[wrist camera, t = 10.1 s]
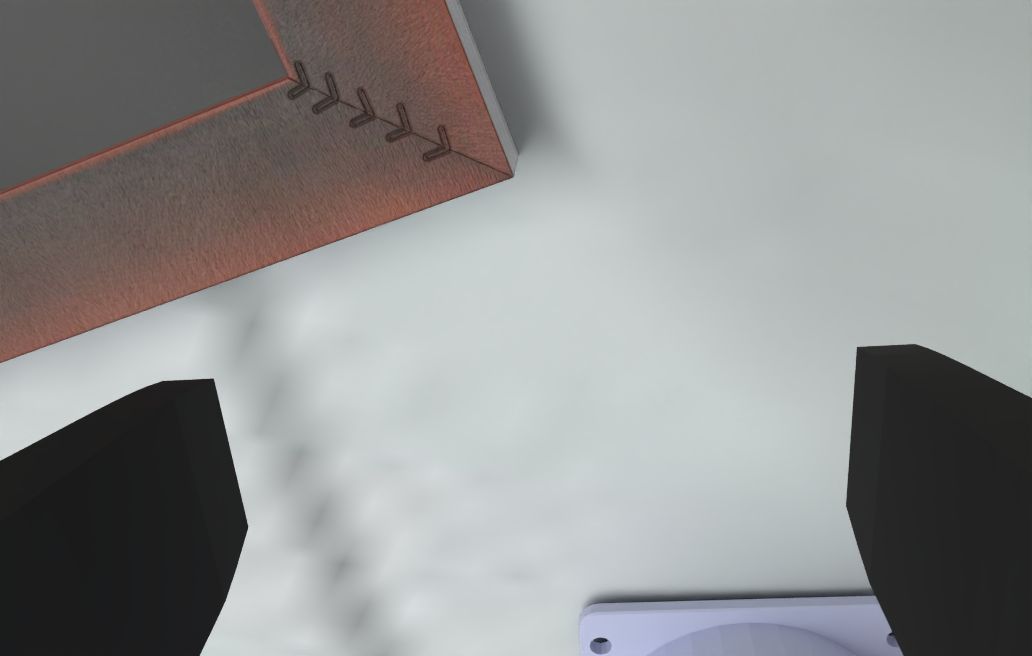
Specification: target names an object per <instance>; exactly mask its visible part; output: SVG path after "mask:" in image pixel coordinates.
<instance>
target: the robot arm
mask: <svg viewBox="0 0 1032 656" xmlns="http://www.w3.org/2000/svg"><path fill="white" fill-rule="evenodd" d="M846 507H847V510H848V514H849V517H850V521H851V524H852V528H853V531H854V535H855V538H856V541H857V545H858V548H859V551H860V555H861V558H862V561H863V564H864V567H865V570H866V573H867V576H868V580H869V583H870V585H871V587H872V589H873V591H874V594H875V596H847V597H811V598H776V599H740V600H705V601H670V602H634V603H599V604H593V605H590V606H588V607H586V608H585V609H584V610H583V611H582V612H581V613H580V617H579V637H580V652H581V656H1032V398H1031V397H1028V396H1026V395H1024V394H1022V393H1020V392H1018V391H1016V390H1014V389H1012V388H1010V387H1008V386H1006V385H1004V384H1002V383H1000V382H998V381H996V380H994V379H992V378H990V377H988V376H986V375H984V374H982V373H980V372H978V371H976V370H974V369H972V368H970V367H968V366H966V365H964V364H962V363H960V362H958V361H956V360H953V359H951V358H949V357H947V356H945V355H943V354H940V353H938V352H936V351H933V350H931V349H928V348H925V347H922V346H919V345H916V344H909V345H889V346H868V347H857V356H856V370H855V385H854V399H853V414H852V428H851V443H850V457H849V472H848V486H847V500H846ZM247 530H248V524H247V519H246V515H245V511H244V506H243V502H242V498H241V494H240V489H239V485H238V481H237V476H236V472H235V468H234V464H233V459H232V455H231V451H230V446H229V442H228V438H227V434H226V429H225V425H224V421H223V416H222V412H221V408H220V403H219V399H218V395H217V391H216V386H215V382H214V379H196V380H175V381H162V382H159V383H156V384H153V385H150V386H147V387H145V388H142V389H140V390H137V391H135V392H133V393H131V394H129V395H126V396H124V397H122V398H120V399H118V400H116V401H114V402H112V403H110V404H108V405H106V406H104V407H102V408H100V409H98V410H96V411H94V412H92V413H90V414H89V415H87V416H85V417H83V418H81V419H79V420H77V421H75V422H73V423H71V424H69V425H68V426H66V427H64V428H62V429H60V430H58V431H56V432H54V433H52V434H51V435H49V436H47V437H45V438H43V439H41V440H39V441H37V442H35V443H33V444H32V445H30V446H28V447H26V448H24V449H22V450H20V451H18V452H16V453H15V454H13V455H11V456H9V457H7V458H5V459H3V460H1V461H0V656H200V654H201V652H202V650H203V647H204V645H205V643H206V641H207V639H208V637H209V635H210V633H211V631H212V629H213V627H214V625H215V622H216V620H217V618H218V616H219V614H220V612H221V609H222V607H223V605H224V603H225V601H226V598H227V595H228V592H229V589H230V586H231V583H232V580H233V577H234V574H235V571H236V568H237V564H238V561H239V557H240V554H241V551H242V547H243V544H244V540H245V537H246V534H247ZM891 632H892V633H893V636H890V635H888V634H890V633H891ZM600 637H601V638H606V639H607V640H608V641H607V642H603V643H598V642H594V641H593V640H594V639H595V638H600Z"/></svg>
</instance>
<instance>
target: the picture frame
mask: <svg viewBox="0 0 1032 656" xmlns="http://www.w3.org/2000/svg"><path fill="white" fill-rule="evenodd" d="M518 156H519V155H518V152H517V149H516V147H515V144H514V142H513V139H512V136H511V134H510V131H509V129H508V126H507V123H506V121H505V118H504V116H503V113H502V111H501V108H500V105H499V103H498V100H497V98H496V95H495V92H494V90H493V87H492V85H491V82H490V79H489V77H488V74H487V72H486V69H485V66H484V64H483V61H482V59H481V56H480V54H479V51H478V48H477V46H476V43H475V41H474V38H473V35H472V33H471V30H470V28H469V25H468V22H467V20H466V17H465V15H464V12H463V9H462V7H461V4H460V2H459V0H0V363H2V362H4V361H7V360H10V359H13V358H15V357H18V356H21V355H24V354H27V353H29V352H32V351H35V350H38V349H40V348H43V347H46V346H49V345H51V344H54V343H57V342H60V341H62V340H65V339H68V338H71V337H74V336H76V335H79V334H82V333H85V332H87V331H90V330H93V329H96V328H98V327H101V326H104V325H107V324H109V323H112V322H115V321H118V320H120V319H123V318H126V317H129V316H132V315H134V314H137V313H140V312H143V311H145V310H148V309H151V308H154V307H156V306H159V305H162V304H165V303H167V302H170V301H173V300H176V299H179V298H181V297H184V296H187V295H190V294H192V293H195V292H198V291H201V290H203V289H206V288H209V287H212V286H214V285H217V284H220V283H223V282H225V281H228V280H231V279H234V278H237V277H239V276H242V275H245V274H248V273H250V272H253V271H256V270H259V269H261V268H264V267H267V266H270V265H272V264H275V263H278V262H281V261H284V260H286V259H289V258H292V257H295V256H297V255H300V254H303V253H306V252H308V251H311V250H314V249H317V248H319V247H322V246H325V245H328V244H330V243H333V242H336V241H339V240H342V239H344V238H347V237H350V236H353V235H355V234H358V233H361V232H364V231H366V230H369V229H372V228H375V227H377V226H380V225H383V224H386V223H389V222H391V221H394V220H397V219H400V218H402V217H405V216H408V215H411V214H413V213H416V212H419V211H422V210H424V209H427V208H430V207H433V206H435V205H438V204H441V203H444V202H447V201H449V200H452V199H455V198H458V197H460V196H463V195H466V194H469V193H471V192H474V191H477V190H480V189H482V188H485V187H488V186H491V185H494V184H496V183H499V182H502V181H505V180H507V179H510V178H513V177H514V175H515V170H516V165H517V160H518Z"/></svg>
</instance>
